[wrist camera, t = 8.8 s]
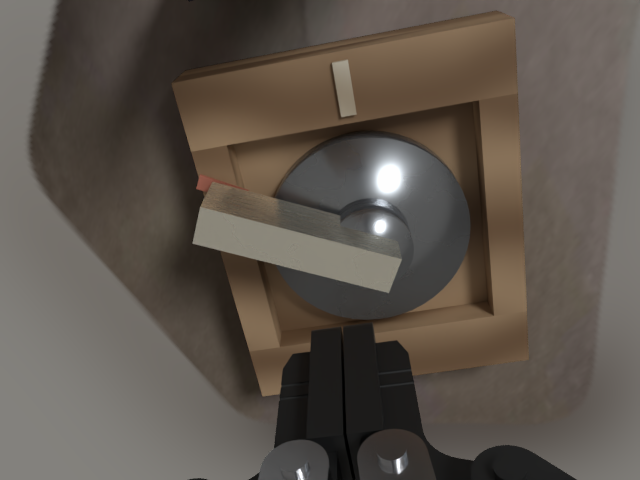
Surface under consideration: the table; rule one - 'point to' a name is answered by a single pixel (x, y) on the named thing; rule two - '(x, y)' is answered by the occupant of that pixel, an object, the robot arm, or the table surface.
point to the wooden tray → (390, 116)
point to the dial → (351, 225)
